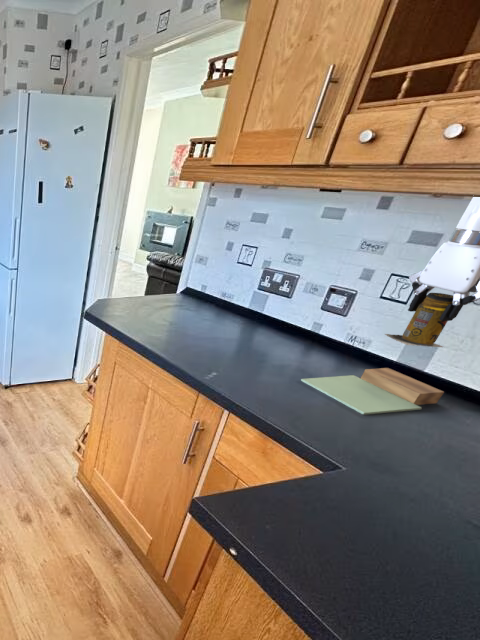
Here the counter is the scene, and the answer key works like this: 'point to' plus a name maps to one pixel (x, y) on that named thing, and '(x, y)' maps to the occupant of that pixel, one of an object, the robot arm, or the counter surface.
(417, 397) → the step
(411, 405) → the mat
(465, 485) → the counter surface
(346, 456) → the counter surface
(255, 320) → the counter surface
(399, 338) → the condiment
